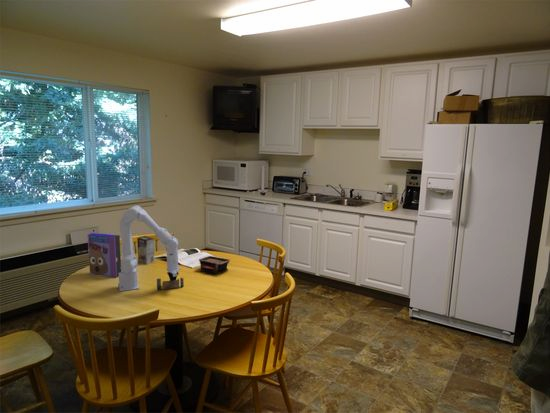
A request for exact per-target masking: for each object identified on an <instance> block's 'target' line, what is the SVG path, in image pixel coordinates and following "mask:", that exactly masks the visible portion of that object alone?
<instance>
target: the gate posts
mask: <svg viewBox="0 0 550 413" xmlns="http://www.w3.org/2000/svg"><path fill="white" fill-rule="evenodd" d="M161 281H162V279H161V278H157V279H156V290H157V291H158V292H160V291H162V282H161ZM179 285H180V288H184V277H180V278H179Z"/></svg>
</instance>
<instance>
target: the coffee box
mask: <svg viewBox="0 0 550 413" xmlns="http://www.w3.org/2000/svg"><path fill="white" fill-rule="evenodd" d="M137 260H138V263H142V264H144V265H150V264H153V263H155V239H154V237H150V236H147V235H144V236H140V237H137Z"/></svg>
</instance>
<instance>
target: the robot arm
mask: <svg viewBox="0 0 550 413" xmlns="http://www.w3.org/2000/svg"><path fill="white" fill-rule="evenodd" d="M135 220H136V221H137V222H140V223H141V222H143V223H144V224H146V225H147V227H149V229H151V230H152V231H153V232H154V237H156V238H158V240H160V242H161V243H163V245H164V246H165V250H166V271H167V272H166V273H167V274H166V275H168V277H169V281H171V280H177V279H178V275H179V270H181V267H179V253H178V251H179V249H178V246H179V240H178V238H177V237H176V236H173V235H171V234H170V233H169V232H168V229H167V228H164V227H160V226H159V225H158V224H157V223H156V222H155V220H153V218H152V217H151V216H150V215H149V214H148V213H147V211H146V210H145V209H143V207H141V206H140V205H137V204H135V205H132V206H131V207H130V208H127V209H126V210H125V211H124V212H123V215H122V216H121V218H120V220H119V229H120V241H121V248H122V257H121V272H120V273H119V277H118V285H117V286H118V287H119V292H124V291H131V290H132V291H134V290H138V289H140V286H139V283H138V269H137V267H138V265H139V262H138V258H137V257H136V254H135V252H134V245H133V243H134V242H133V236H132V227H131V224H132V223H133V222H134V221H135Z"/></svg>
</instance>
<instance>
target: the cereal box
mask: <svg viewBox="0 0 550 413" xmlns="http://www.w3.org/2000/svg"><path fill="white" fill-rule="evenodd" d="M120 242H121V234H120V235H119V234H111V233H110V234H108V233H100V232H99V233H98V232H91V233H89V234H87V245H88V246H87V249H88V250H87V251H88V263H89V264H88V265H89V275H90V274H91V275H92V276H97V275H98V276H99V277H105V276H106V277H107V278H115V279H116V278H119V273H120V272H122V271H121V264H122V257H121V243H120ZM91 275H90V276H91Z"/></svg>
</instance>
